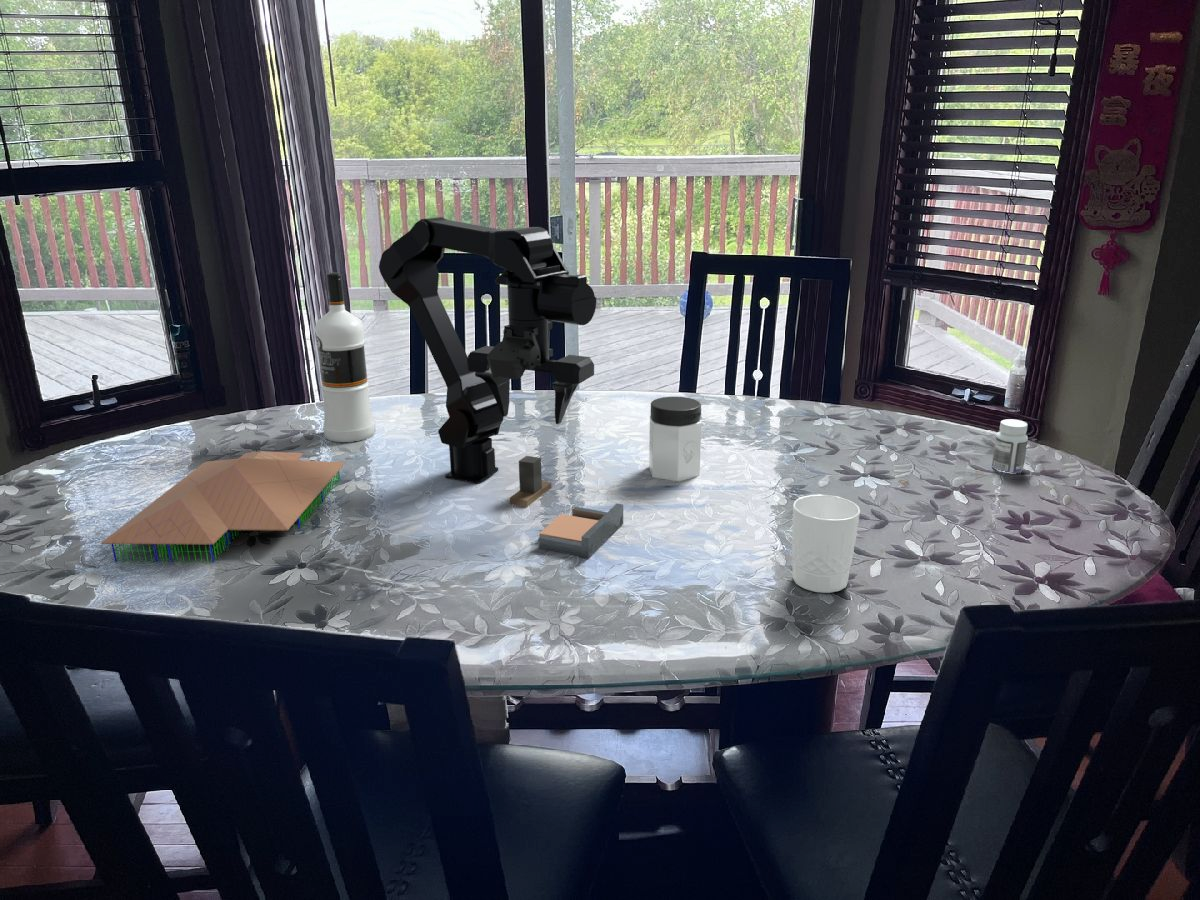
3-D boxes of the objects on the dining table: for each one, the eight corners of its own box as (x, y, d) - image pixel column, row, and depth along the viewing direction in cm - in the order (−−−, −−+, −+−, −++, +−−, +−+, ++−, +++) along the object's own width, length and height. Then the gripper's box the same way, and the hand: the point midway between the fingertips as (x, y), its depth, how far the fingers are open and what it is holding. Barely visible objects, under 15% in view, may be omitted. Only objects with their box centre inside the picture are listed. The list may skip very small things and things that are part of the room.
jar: (667, 486, 141) (669, 414, 137) (637, 470, 147) (638, 401, 143) (710, 474, 145) (713, 404, 141) (680, 460, 152) (682, 393, 148)
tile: (539, 543, 123) (539, 533, 122) (561, 524, 129) (560, 514, 128) (586, 552, 120) (586, 541, 119) (605, 532, 126) (605, 521, 125)
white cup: (780, 567, 115) (785, 495, 111) (840, 564, 115) (846, 493, 112) (798, 597, 107) (804, 521, 104) (862, 594, 108) (870, 518, 104)
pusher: (509, 505, 134) (508, 466, 132) (534, 486, 141) (533, 449, 139) (527, 508, 133) (526, 469, 131) (551, 489, 140) (550, 452, 138)
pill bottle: (1016, 466, 148) (1024, 418, 145) (1026, 477, 144) (1035, 427, 141) (987, 465, 149) (994, 417, 146) (996, 476, 144) (1003, 426, 141)
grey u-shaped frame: (538, 548, 120) (537, 528, 119) (575, 515, 130) (575, 496, 129) (588, 558, 117) (588, 537, 116) (623, 523, 127) (623, 504, 126)
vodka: (380, 440, 162) (364, 274, 152) (327, 447, 159) (308, 278, 148) (371, 426, 170) (356, 267, 160) (321, 432, 167) (302, 270, 157)
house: (352, 475, 147) (347, 428, 144) (278, 566, 116) (270, 509, 113) (215, 474, 148) (208, 427, 145) (105, 565, 117) (93, 508, 114)
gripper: (442, 322, 126) (449, 426, 131) (560, 333, 118) (562, 444, 124) (484, 308, 135) (489, 406, 141) (595, 318, 128) (596, 421, 133)
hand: (531, 419), depth 134 cm, fingers open, 9 cm apart
